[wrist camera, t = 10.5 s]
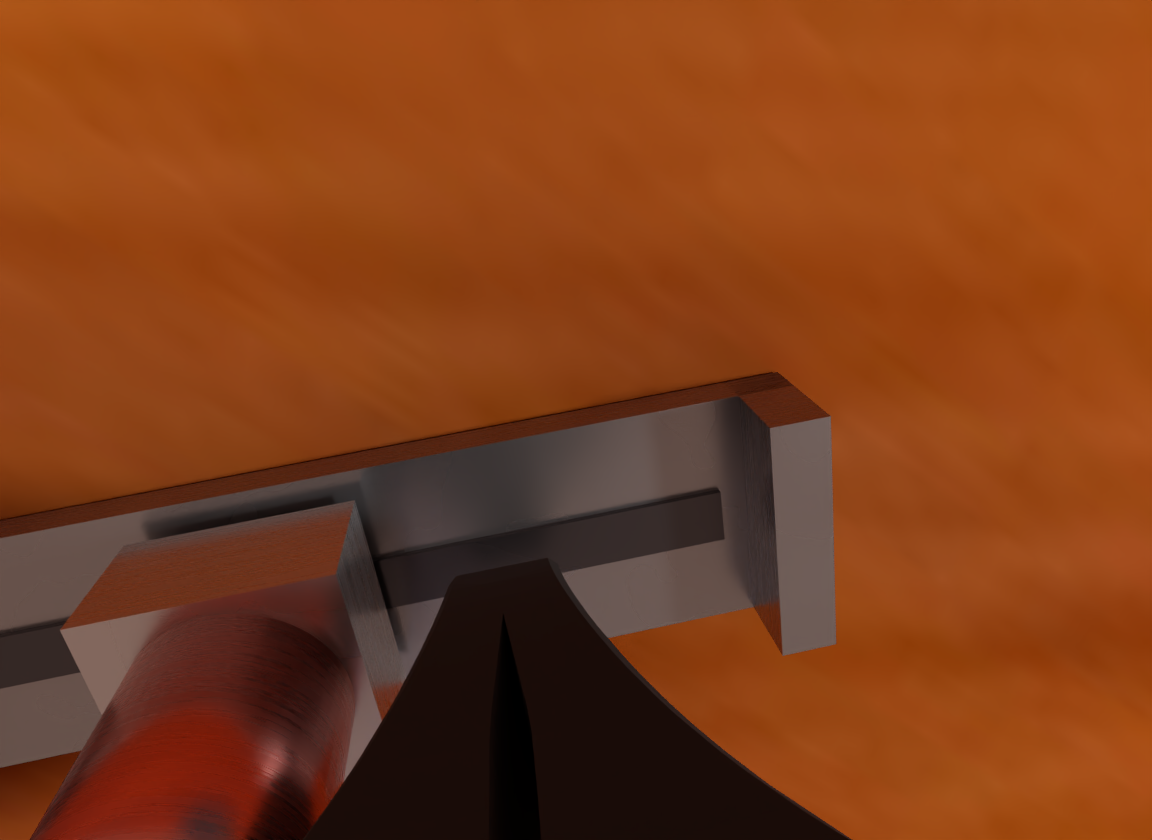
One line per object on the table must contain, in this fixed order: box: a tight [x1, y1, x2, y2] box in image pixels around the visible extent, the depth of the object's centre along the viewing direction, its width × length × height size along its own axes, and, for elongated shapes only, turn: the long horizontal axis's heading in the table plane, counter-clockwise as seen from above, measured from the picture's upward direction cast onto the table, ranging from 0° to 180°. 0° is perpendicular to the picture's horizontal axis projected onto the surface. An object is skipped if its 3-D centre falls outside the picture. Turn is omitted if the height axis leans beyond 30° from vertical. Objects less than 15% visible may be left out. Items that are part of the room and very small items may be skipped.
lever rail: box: [0, 372, 836, 768], centre depth 11 cm, size 4×14×2 cm, turn 98°
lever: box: [30, 500, 406, 840], centre depth 8 cm, size 3×3×6 cm
